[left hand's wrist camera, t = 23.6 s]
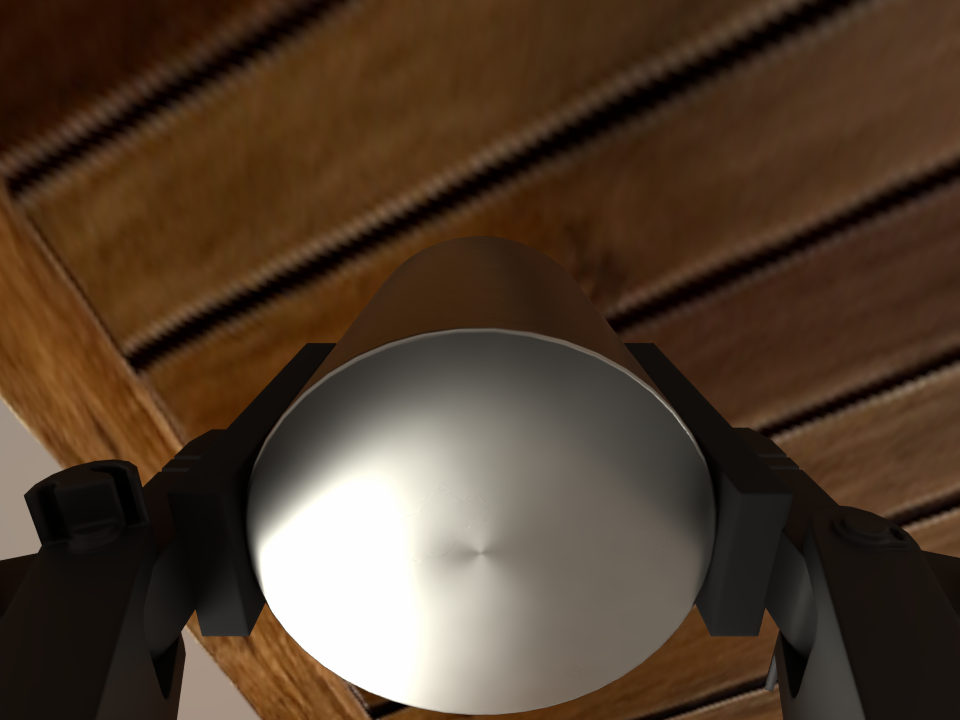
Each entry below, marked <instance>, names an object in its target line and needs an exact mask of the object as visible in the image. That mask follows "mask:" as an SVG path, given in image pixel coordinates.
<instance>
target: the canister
mask: <svg viewBox="0 0 960 720" xmlns="http://www.w3.org/2000/svg"><path fill="white" fill-rule="evenodd" d="M244 524H245V543H246V548H247V552H248V557H249V562H250V566H251V569H252V572H253V575H254V577H255V580H256V583H257V585H258V588H259V590H260V592H261V594H262V596H263V598H264V599H265V601H266V603H267V605H268V607H269V608H270V610H271V612H272V613H273V615H274V616H275V617H276V619H277V620H278V621H279V623H280V624H281V625H282V627H283V628H284V629H285V631H286V632H287V633H288V634H289V635H290V636H291V637H292V638H293V639H294V640H295V641H296V642H297V644H298V645H299V646H300V647H301V648H302V649H303V650H304V651H306V652H307V653H308V654H309V655H310V656H312V657H313V658H314V659H315V660H317V661H318V662H319V663H320V664H322V665H323V666H324V667H326V668H327V669H329V670H330V671H332V672H333V673H335V674H337V675H338V676H340V677H341V678H343V679H344V680H346V681H348V682H350V683H352V684H354V685H356V686H358V687H360V688H362V689H364V690H366V691H368V692H370V693H373V694H376V695H378V696H381V697H384V698H386V699H389V700H391V701H395V702H398V703H402V704H406V705H409V706H413V707H417V708H421V709H427V710H433V711H439V712H445V713H457V714H469V715H480V714H505V713H515V712H524V711H529V710H534V709H539V708H544V707H549V706H552V705H556V704H559V703H563V702H566V701H569V700H573V699H576V698H578V697H580V696H583V695H585V694H588V693H590V692H593V691H595V690H598V689H600V688H602V687H603V686H605V685H607V684H609V683H611V682H613V681H615V680H617V679H618V678H620V677H622V676H623V675H625V674H626V673H628V672H629V671H631V670H632V669H634V668H635V667H637V666H638V665H640V664H641V663H643V662H644V661H645V660H646V659H647V658H648V657H650V656H651V655H652V654H653V653H654V652H655V651H657V650H658V649H659V648H660V647H661V646H662V645H663V644H664V643H665V642H666V641H667V640H668V639H669V637H670V636H671V635H672V634H673V633H674V632H675V631H676V630H677V629H678V628H679V626H680V625H681V623H682V622H683V620H684V619H685V618H686V616H687V615H688V613H689V612H690V610H691V609H692V608H693V606H694V604H695V602H696V600H697V598H698V596H699V594H700V592H701V590H702V588H703V586H704V584H705V581H706V578H707V575H708V572H709V569H710V566H711V563H712V559H713V554H714V548H715V542H716V535H717V507H716V500H715V493H714V487H713V482H712V479H711V476H710V472H709V469H708V466H707V463H706V460H705V457H704V455H703V453H702V451H701V449H700V447H699V446H698V444H697V442H696V440H695V438H694V436H693V434H692V432H691V431H690V429H689V428H688V427H687V425H686V424H685V423H684V421H683V420H682V418H681V417H680V416H679V414H678V413H677V412H676V410H675V409H674V408H673V406H672V405H671V404H670V402H669V401H668V400H667V399H666V397H665V396H664V395H663V393H662V392H661V391H660V390H659V388H658V387H657V386H656V384H655V383H654V382H653V381H652V379H651V378H650V377H649V375H648V374H647V373H646V372H645V370H644V369H643V368H642V366H641V365H640V364H639V363H638V361H637V360H636V359H635V357H634V356H633V355H632V353H631V352H630V351H629V350H628V348H627V347H626V346H625V344H624V343H623V342H622V341H621V339H620V338H619V337H618V335H617V334H616V333H615V332H614V330H613V329H612V328H611V326H610V325H609V324H608V323H607V321H606V320H605V319H604V317H603V316H602V315H601V314H600V312H599V311H598V310H597V308H596V307H595V306H594V305H593V303H592V302H591V301H590V299H589V298H588V297H587V296H586V294H585V293H584V292H583V290H582V289H581V288H580V287H579V285H578V284H577V283H576V281H575V280H574V279H573V278H572V277H571V276H570V275H569V273H568V272H567V271H566V270H565V269H564V268H563V267H562V266H560V265H559V264H558V263H556V262H555V261H554V260H553V259H551V258H550V257H549V256H547V255H545V254H543V253H542V252H540V251H538V250H536V249H535V248H532V247H530V246H527V245H525V244H522V243H520V242H516V241H512V240H508V239H504V238H497V237H489V236H472V237H464V238H457V239H452V240H448V241H445V242H442V243H438V244H436V245H433V246H431V247H429V248H427V249H424V250H422V251H421V252H419V253H417V254H416V255H414V256H413V257H411V258H409V259H408V260H407V261H406V262H404V263H403V264H402V265H401V266H399V267H398V268H397V269H396V270H395V271H394V272H393V273H392V274H391V275H390V277H389V278H388V279H387V280H386V281H385V282H384V284H383V285H382V286H381V287H380V289H379V290H378V291H377V293H376V294H375V295H374V296H373V298H372V299H371V300H370V302H369V303H368V304H367V306H366V307H365V308H364V309H363V311H362V312H361V313H360V315H359V316H358V317H357V318H356V320H355V321H354V322H353V324H352V325H351V326H350V327H349V329H348V330H347V331H346V333H345V334H344V335H343V337H342V338H341V339H340V340H339V342H338V343H337V344H336V346H335V347H334V348H333V349H332V351H331V352H330V353H329V355H328V356H327V357H326V359H325V360H324V361H323V362H322V364H321V365H320V366H319V368H318V369H317V370H316V371H315V373H314V374H313V375H312V377H311V378H310V379H309V380H308V382H307V383H306V384H305V386H304V387H303V388H302V390H301V391H300V392H299V393H298V395H297V396H296V397H295V399H294V400H293V401H292V402H291V404H290V405H289V406H288V408H287V409H286V410H285V411H284V413H283V414H282V416H281V417H280V418H279V420H278V421H277V423H276V424H275V426H274V427H273V429H272V430H271V432H270V433H269V435H268V436H267V438H266V440H265V442H264V444H263V446H262V448H261V450H260V452H259V454H258V457H257V459H256V461H255V463H254V466H253V470H252V473H251V477H250V480H249V484H248V487H247V494H246V503H245V512H244Z"/></svg>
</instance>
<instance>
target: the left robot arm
mask: <svg viewBox="0 0 960 720" xmlns="http://www.w3.org/2000/svg"><path fill="white" fill-rule="evenodd" d="M624 344H625V346H626V347H627V348H628V350H629V351H630V352H631V353H632V355H633V356H634V357H635V359H636V360H637V361H638V363H639V364H640V365H641V366H642V368H643V369H644V370H645V372H646V373H647V374H648V375H649V377H650V378H651V379H652V381H653V382H654V383H655V384H656V386H657V387H658V388H659V390H660V391H661V392H662V393H663V395H664V396H665V397H666V399H667V400H668V401H669V402H670V404H671V405H672V406H673V408H674V409H675V410H676V412H677V413H678V414H679V416H680V417H681V418H682V420H683V421H684V423H685V424H686V425H687V427H688V428H689V429H690V431H691V432H692V434H693V436H694V438H695V440H696V442H697V444H698V446H699V447H700V449H701V451H702V453H703V455H704V457H705V460H706V463H707V466H708V469H709V472H710V476H711V479H712V482H713V487H714V493H715V500H716V507H717V535H716V542H715V548H714V554H713V559H712V563H711V566H710V569H709V572H708V575H707V578H706V581H705V584H704V586H703V588H702V590H701V592H700V594H699V596H698V598H697V600H696V602H695V604H696V606H697V608H698V610H699V612H700V614H701V616H702V618H703V620H704V622H705V625H706V627H707V629H708V631H709V633H710V635H711V636H758V635H759V631H760V627H761V623H762V619H763V615H764V611H765V607H766V609H767V610H768V612H769V613H770V615H771V617H772V618H773V620H774V621H775V623H776V624H777V626H778V628H779V629H780V630H779V633H778V637H777V641H776V645H775V648H774V652H773V656H772V660H771V663H770V667H769V671H768V675H767V679H766V685H765V689H766V690H769V691H772V692H773V689H774V685H775V682H776V680H777V679H778V684H779V691H780V699H781V706H782V713H783V720H960V558H957V557H952V556H947V555H942V554H937V553H932V552H927V551H922V550H921V549H920V547H919V545H918V544H917V543H916V542H915V540H914V539H913V538H912V537H911V536H910V535H909V533H908V532H906V531H905V530H903V529H902V528H900V527H899V526H897V525H896V524H894V523H893V522H891V521H889V520H887V519H885V518H883V517H880V516H878V515H876V514H874V513H872V512H868V511H864V510H861V509H857V508H854V507H848V506H839V505H838V504H837V503H836V502H835V501H834V500H833V499H832V498H831V497H830V496H829V495H828V494H827V493H826V492H825V491H824V490H823V489H822V488H820V487H819V486H818V485H817V484H816V483H815V482H814V481H813V480H812V479H811V478H810V477H809V476H808V475H807V474H806V473H805V472H804V471H803V470H799V466H798V465H797V464H796V463H795V462H794V461H793V460H792V459H790V458H789V457H786V454H785V453H784V452H783V451H782V450H781V449H780V448H779V447H778V446H777V445H776V444H775V443H774V442H773V441H772V440H770V439H768V438H767V437H765V436H763V435H761V434H759V433H757V432H756V431H754V430H752V429H750V428H732V427H731V426H730V425H729V423H728V422H727V421H726V420H725V419H724V418H723V417H722V416H721V415H720V414H719V413H718V412H717V411H716V410H715V409H714V407H713V406H712V405H711V404H710V403H709V402H708V401H707V400H706V399H705V398H704V397H703V396H702V395H701V394H700V393H699V391H698V390H697V389H696V388H695V387H694V386H693V385H692V384H691V383H690V382H689V381H688V380H687V379H686V378H685V376H684V375H683V374H682V373H681V372H680V371H679V370H678V369H677V368H676V367H675V366H674V365H673V364H672V363H671V362H670V360H669V359H668V358H667V357H666V356H665V355H664V354H663V353H662V352H661V351H660V350H659V349H658V348H657V347H656V346H655V344H654V343H624ZM335 346H336V343H307V344H306V345H305V346H304V347H303V348H302V349H301V350H300V351H299V352H298V353H297V354H296V356H295V357H294V358H293V359H292V360H291V361H290V362H289V363H288V364H287V365H286V366H285V367H284V368H283V369H282V370H281V372H280V373H279V374H278V375H277V376H276V377H275V378H274V379H273V380H272V381H271V382H270V383H269V384H268V385H267V386H266V388H265V389H264V390H263V391H262V392H261V393H260V394H259V395H258V396H257V397H256V398H255V399H254V400H253V401H252V403H251V404H250V405H249V406H248V407H247V408H246V409H245V410H244V411H243V412H242V413H241V414H240V415H239V416H238V417H237V419H236V420H235V421H234V422H233V423H232V424H231V425H230V426H229V427H228V428H227V429H212V430H210V431H208V432H207V433H205V434H203V435H201V436H199V437H197V438H196V439H194V440H192V441H190V442H189V443H188V444H187V445H186V446H185V447H184V448H183V449H182V450H181V451H180V452H178V453H177V454H176V455H175V456H174V459H171V460H170V461H169V462H168V463H167V464H166V465H165V466H164V467H163V468H162V472H158V473H157V474H156V475H155V476H154V477H153V478H152V479H151V480H150V481H149V482H148V483H147V484H146V485H145V486H144V487H143V488H142V484H141V480H140V476H139V473H138V469H137V466H135V465H133V464H132V463H130V462H129V461H122V460H114V459H113V460H102V461H93V462H89V463H85V464H81V465H77V466H73V467H70V468H68V469H65V470H63V471H60V472H58V473H55V474H53V475H51V476H49V477H47V478H46V479H44V480H42V481H40V482H39V483H37V484H35V485H34V486H33V487H32V488H31V489H30V490H29V491H28V492H27V493H26V494H25V495H24V498H25V500H26V503H27V506H28V509H29V511H30V514H31V517H32V520H33V522H34V525H35V528H36V531H37V533H38V536H39V539H40V541H41V544H42V546H41V548H40V550H39V552H38V553H36V554H31V555H26V556H21V557H16V558H11V559H6V560H0V720H177V715H178V707H179V700H180V693H181V685H182V678H183V671H184V663H185V656H186V653H185V646H184V641H183V637H182V633H181V631H182V629H183V628H184V626H185V625H186V623H187V622H188V620H189V618H190V617H191V615H192V614H193V612H194V610H195V609H196V613H197V617H198V621H199V625H200V629H201V633H202V636H250V634H251V632H252V629H253V627H254V625H255V623H256V621H257V619H258V617H259V615H260V613H261V611H262V609H263V607H264V605H265V603H266V601H265V599H264V598H263V596H262V594H261V592H260V590H259V588H258V585H257V583H256V580H255V577H254V575H253V572H252V569H251V566H250V562H249V557H248V552H247V548H246V543H245V524H244V512H245V503H246V494H247V487H248V484H249V480H250V477H251V473H252V470H253V466H254V463H255V461H256V459H257V457H258V454H259V452H260V450H261V448H262V446H263V444H264V442H265V440H266V438H267V436H268V435H269V433H270V432H271V430H272V429H273V427H274V426H275V424H276V423H277V421H278V420H279V418H280V417H281V416H282V414H283V413H284V411H285V410H286V409H287V408H288V406H289V405H290V404H291V402H292V401H293V400H294V399H295V397H296V396H297V395H298V393H299V392H300V391H301V390H302V388H303V387H304V386H305V384H306V383H307V382H308V380H309V379H310V378H311V377H312V375H313V374H314V373H315V371H316V370H317V369H318V368H319V366H320V365H321V364H322V362H323V361H324V360H325V359H326V357H327V356H328V355H329V353H330V352H331V351H332V349H333V348H334V347H335Z"/></svg>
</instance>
